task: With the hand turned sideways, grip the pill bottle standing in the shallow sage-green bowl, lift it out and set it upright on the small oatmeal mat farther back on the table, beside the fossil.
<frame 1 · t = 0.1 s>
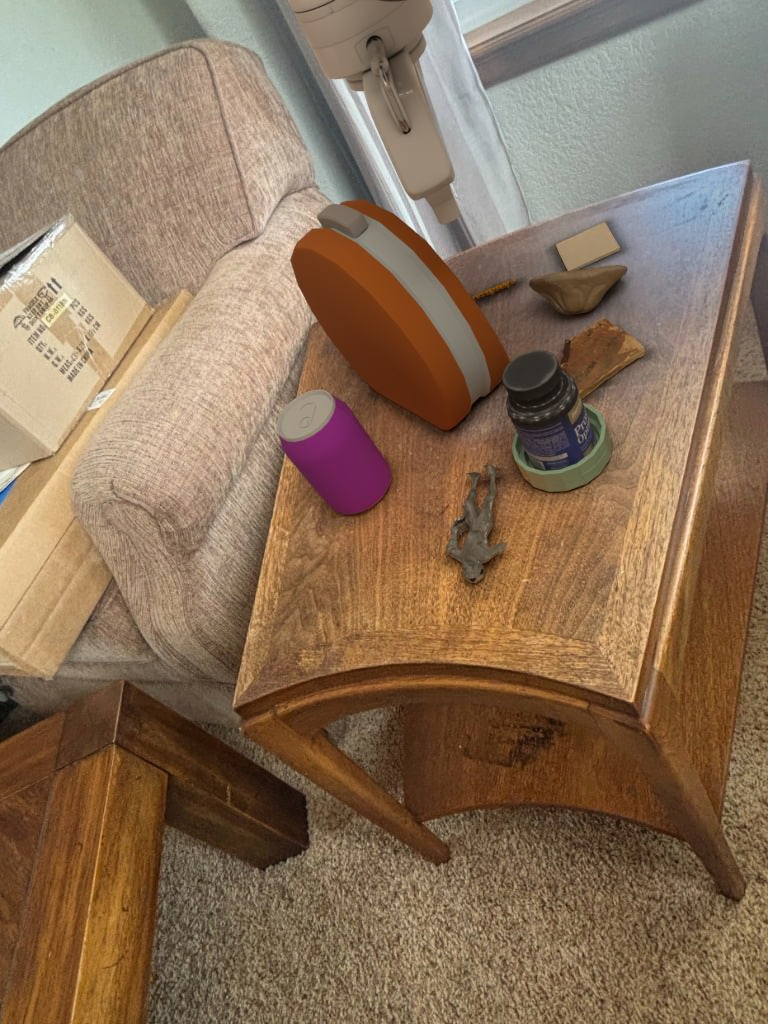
hand: (442, 190, 61), 22 cm above the table, tool pointing down, fingers open, 8 cm apart
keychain: (482, 288, 87), point 1 cm above the table
beverage can: (363, 490, 78), on the table
figurine: (485, 530, 67), on the table
mat: (587, 248, 84), on the table
alarm clock: (438, 381, 82), on the table, touching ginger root
shard: (602, 373, 72), on the table
pill bottle: (565, 456, 67), resting on bowl
bowl: (566, 457, 68), on the table
fossil: (586, 304, 79), on the table
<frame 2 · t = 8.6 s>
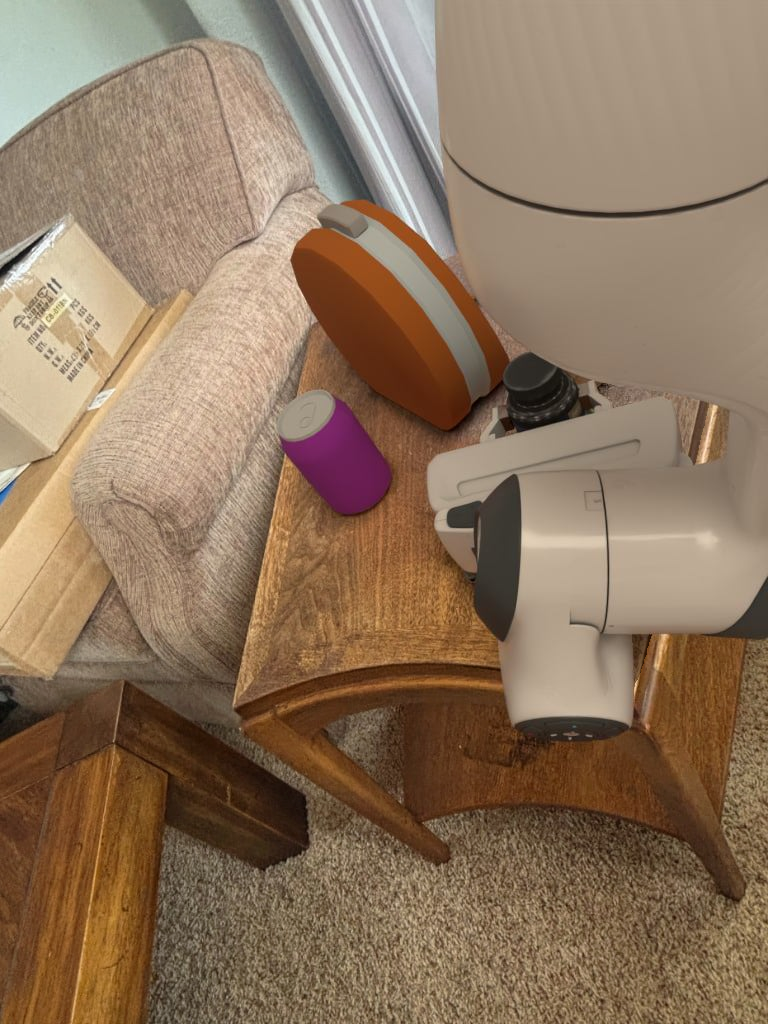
hand: (543, 399, 63), 7 cm above the table, tool horizontal, fingers closed on pill bottle, 6 cm apart
pill bottle: (565, 456, 67), resting on bowl, touching gripper
everything else where it was.
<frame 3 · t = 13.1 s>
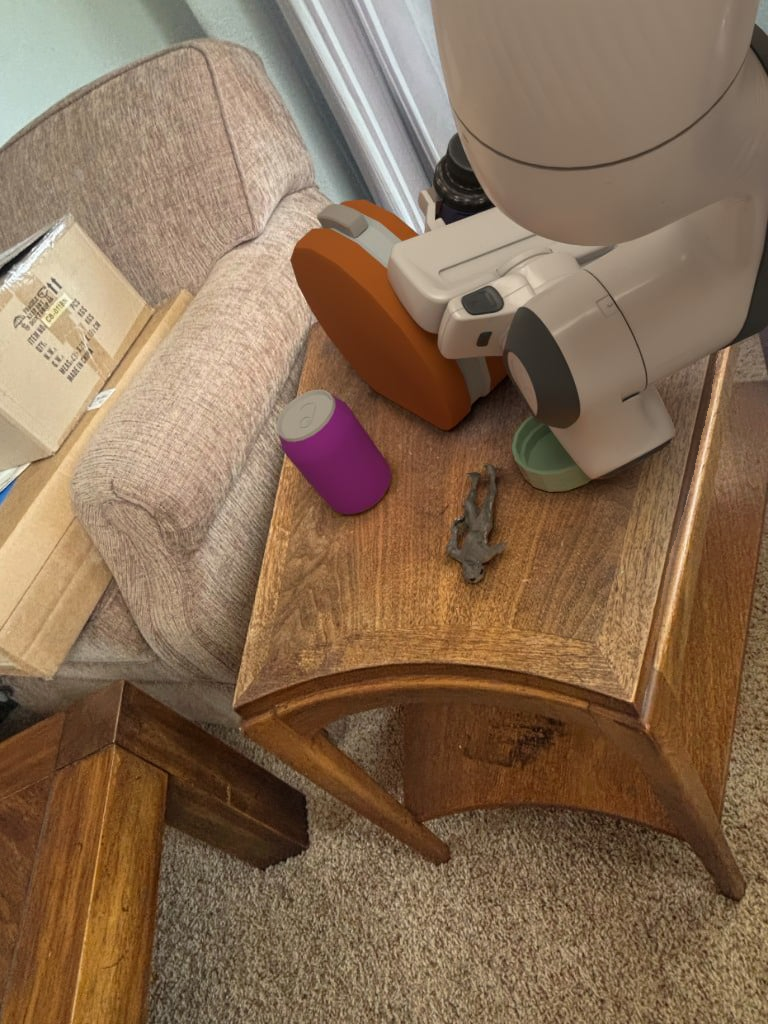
hand: (461, 180, 65), 20 cm above the table, tool pointing upward, fingers closed on pill bottle, 6 cm apart
alarm clock: (438, 381, 82), on the table, touching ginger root, gripper
pill bottle: (454, 238, 72), point 14 cm above the table, touching gripper
everything else where it was.
when the fingers open (7 cm above the table, at t = 19.6 s): pill bottle stays where it is, resting on mat.
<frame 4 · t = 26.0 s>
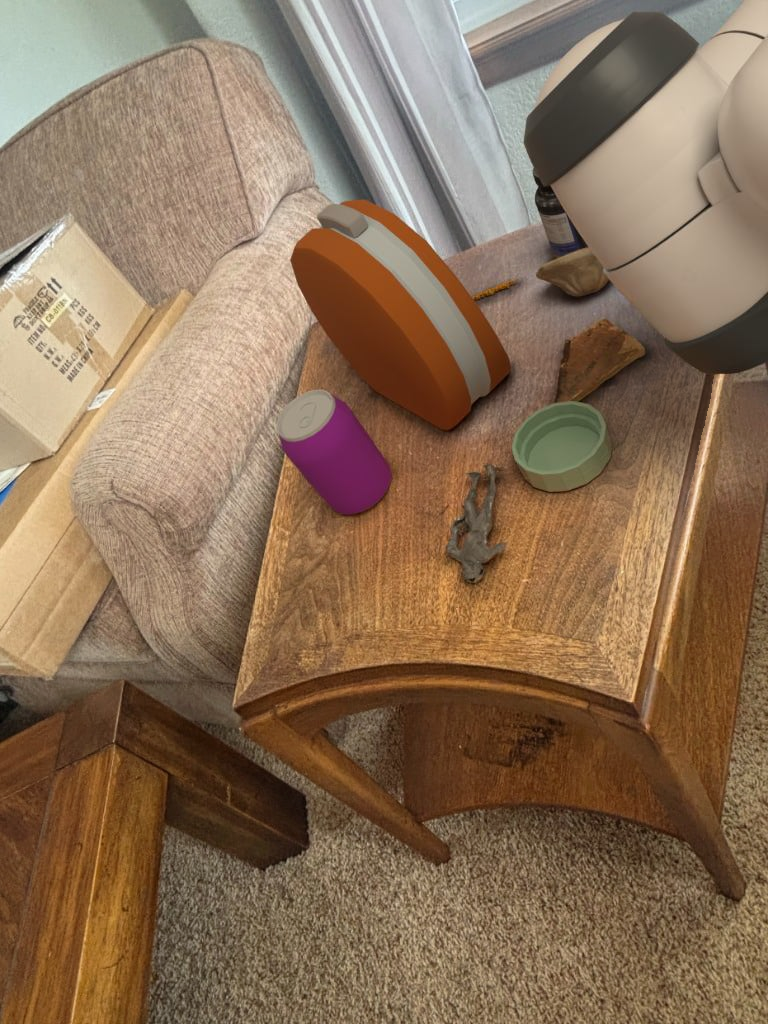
alarm clock: (438, 381, 82), on the table, touching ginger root
pill bottle: (581, 250, 84), resting on mat
fossil: (591, 286, 80), on the table
everything else where it was.
at the end: pill bottle inside the target area on the mat (0.7 cm from its centre), point 0.2 cm above the mat's base; pill bottle tilted 0°; the gripper is holding nothing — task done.
